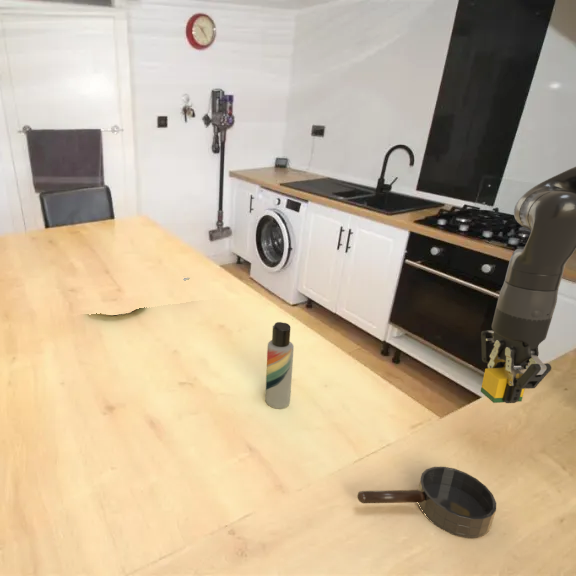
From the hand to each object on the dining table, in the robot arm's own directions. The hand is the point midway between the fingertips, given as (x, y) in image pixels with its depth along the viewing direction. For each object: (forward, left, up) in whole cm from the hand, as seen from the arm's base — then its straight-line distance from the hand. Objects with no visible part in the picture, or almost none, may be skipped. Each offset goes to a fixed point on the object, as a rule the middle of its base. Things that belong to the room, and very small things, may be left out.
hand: (500, 394), depth 75 cm
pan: (+14, +13, -13) cm, 23 cm away
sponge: (0, 0, 0) cm, 0 cm away
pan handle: (+25, +13, -11) cm, 30 cm away
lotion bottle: (+37, -17, -13) cm, 43 cm away
